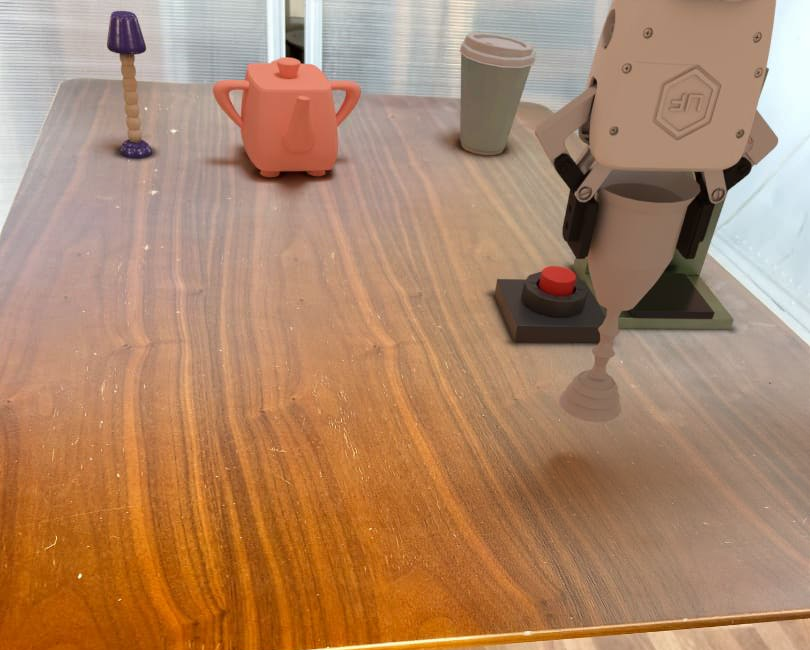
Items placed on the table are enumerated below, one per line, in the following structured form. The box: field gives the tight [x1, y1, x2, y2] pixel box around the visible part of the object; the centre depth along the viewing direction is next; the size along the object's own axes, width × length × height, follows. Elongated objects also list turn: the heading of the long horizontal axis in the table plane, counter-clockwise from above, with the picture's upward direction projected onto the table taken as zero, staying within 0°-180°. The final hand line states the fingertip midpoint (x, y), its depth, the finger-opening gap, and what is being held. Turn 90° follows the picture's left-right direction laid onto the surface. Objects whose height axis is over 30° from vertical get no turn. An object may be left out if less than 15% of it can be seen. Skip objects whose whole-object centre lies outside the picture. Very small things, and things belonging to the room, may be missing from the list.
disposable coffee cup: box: [459, 31, 536, 156], centre depth 125 cm, size 11×11×15 cm
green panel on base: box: [572, 66, 770, 330], centre depth 92 cm, size 14×14×24 cm
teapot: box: [212, 56, 362, 178], centre depth 115 cm, size 17×16×13 cm
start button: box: [539, 265, 577, 296], centre depth 91 cm, size 4×4×2 cm
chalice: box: [558, 169, 700, 423], centre depth 65 cm, size 7×7×18 cm
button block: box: [494, 271, 606, 344], centre depth 93 cm, size 10×10×4 cm
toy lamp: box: [106, 10, 154, 160], centre depth 112 cm, size 5×5×17 cm
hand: (629, 248), depth 62 cm, fingers closed on chalice, 7 cm apart
